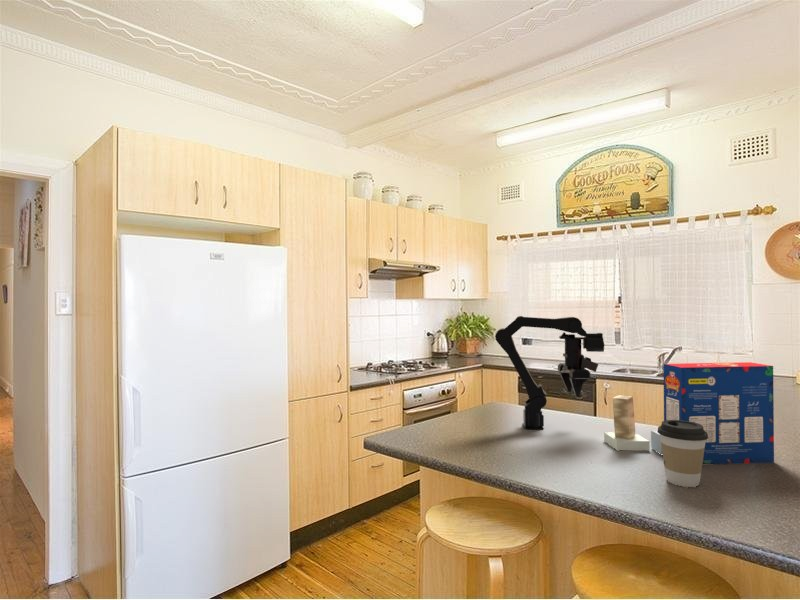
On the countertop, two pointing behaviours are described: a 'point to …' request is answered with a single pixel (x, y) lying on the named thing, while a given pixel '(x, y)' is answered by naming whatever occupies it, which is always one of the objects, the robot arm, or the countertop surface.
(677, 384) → the pasta box
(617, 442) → the plinth
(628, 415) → the pillar
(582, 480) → the countertop surface
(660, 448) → the grey cube
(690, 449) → the coffee cup
